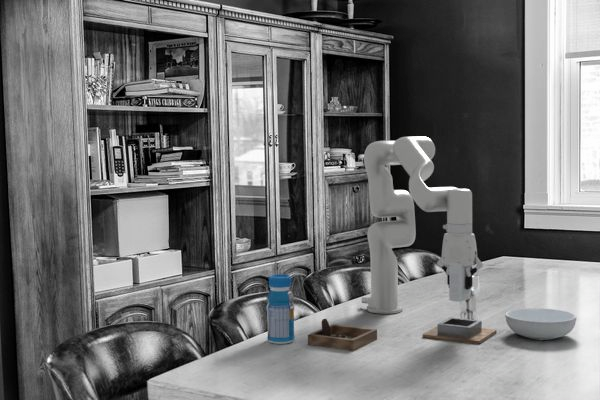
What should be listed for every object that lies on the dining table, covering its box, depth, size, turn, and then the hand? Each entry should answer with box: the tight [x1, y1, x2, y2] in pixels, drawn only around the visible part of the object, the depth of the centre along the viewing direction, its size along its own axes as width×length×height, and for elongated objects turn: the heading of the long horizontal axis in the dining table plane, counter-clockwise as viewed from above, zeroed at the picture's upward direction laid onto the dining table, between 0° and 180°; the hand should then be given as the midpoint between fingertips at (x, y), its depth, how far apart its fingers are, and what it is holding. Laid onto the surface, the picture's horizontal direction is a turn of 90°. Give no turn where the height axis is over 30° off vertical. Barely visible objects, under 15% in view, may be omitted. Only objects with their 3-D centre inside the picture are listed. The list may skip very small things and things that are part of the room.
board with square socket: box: [422, 316, 497, 345], centre depth 254 cm, size 18×16×4 cm
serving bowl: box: [504, 307, 577, 341], centre depth 251 cm, size 21×21×7 cm
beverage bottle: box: [266, 273, 295, 345], centre depth 249 cm, size 8×8×20 cm
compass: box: [321, 318, 350, 339], centre depth 249 cm, size 8×8×7 cm
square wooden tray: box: [307, 323, 378, 352], centre depth 248 cm, size 15×15×3 cm
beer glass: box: [459, 273, 480, 320], centre depth 274 cm, size 7×7×15 cm
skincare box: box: [448, 262, 470, 303], centre depth 252 cm, size 6×4×12 cm
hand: (459, 287), depth 252 cm, fingers closed on skincare box, 4 cm apart
